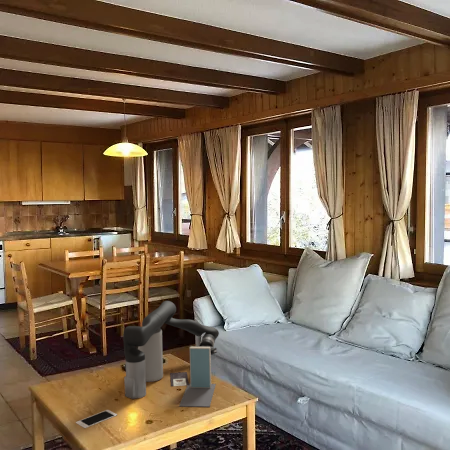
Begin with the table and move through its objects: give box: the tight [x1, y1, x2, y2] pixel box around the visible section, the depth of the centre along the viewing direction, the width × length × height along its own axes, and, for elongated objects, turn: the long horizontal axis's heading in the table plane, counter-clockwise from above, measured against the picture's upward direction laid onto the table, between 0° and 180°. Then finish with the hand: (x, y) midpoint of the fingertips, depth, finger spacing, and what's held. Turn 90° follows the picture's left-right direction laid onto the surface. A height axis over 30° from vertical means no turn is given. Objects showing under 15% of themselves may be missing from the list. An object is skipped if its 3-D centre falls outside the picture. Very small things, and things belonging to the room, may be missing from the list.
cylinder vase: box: [137, 328, 164, 383], centre depth 259 cm, size 12×12×25 cm
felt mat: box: [178, 382, 217, 408], centre depth 237 cm, size 26×14×1 cm, turn 175°
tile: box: [189, 346, 212, 388], centre depth 245 cm, size 2×10×20 cm, turn 85°
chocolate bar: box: [169, 371, 190, 387], centre depth 257 cm, size 9×1×18 cm
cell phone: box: [75, 409, 118, 429], centre depth 214 cm, size 8×16×1 cm, turn 136°
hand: (202, 356), depth 255 cm, fingers closed
